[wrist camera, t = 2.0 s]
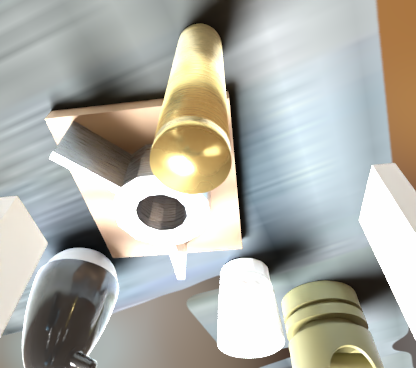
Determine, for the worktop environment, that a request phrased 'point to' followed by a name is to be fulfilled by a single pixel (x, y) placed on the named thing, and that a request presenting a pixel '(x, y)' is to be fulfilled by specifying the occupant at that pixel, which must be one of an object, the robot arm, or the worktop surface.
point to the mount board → (103, 198)
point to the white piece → (136, 192)
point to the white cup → (248, 311)
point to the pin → (194, 117)
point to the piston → (328, 327)
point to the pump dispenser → (68, 309)
